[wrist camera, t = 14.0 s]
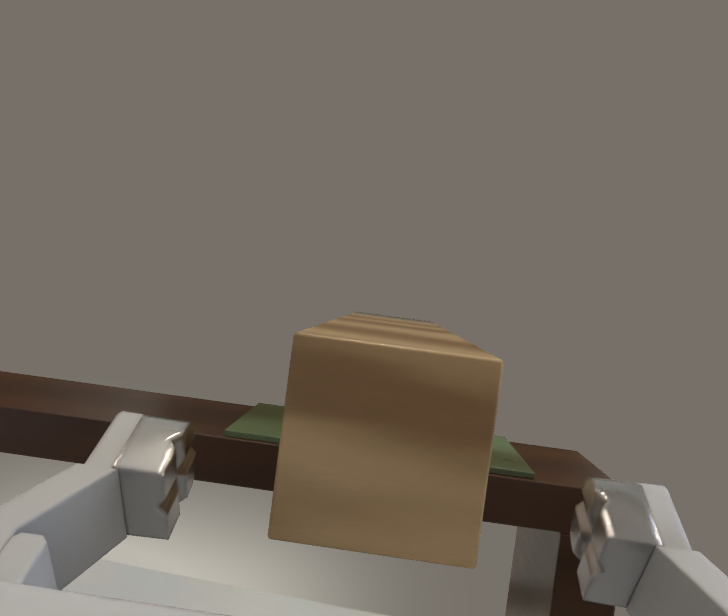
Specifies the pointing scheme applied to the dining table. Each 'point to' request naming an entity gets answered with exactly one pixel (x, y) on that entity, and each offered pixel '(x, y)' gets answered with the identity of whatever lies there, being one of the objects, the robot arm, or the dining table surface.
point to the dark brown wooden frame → (259, 461)
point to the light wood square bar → (386, 440)
